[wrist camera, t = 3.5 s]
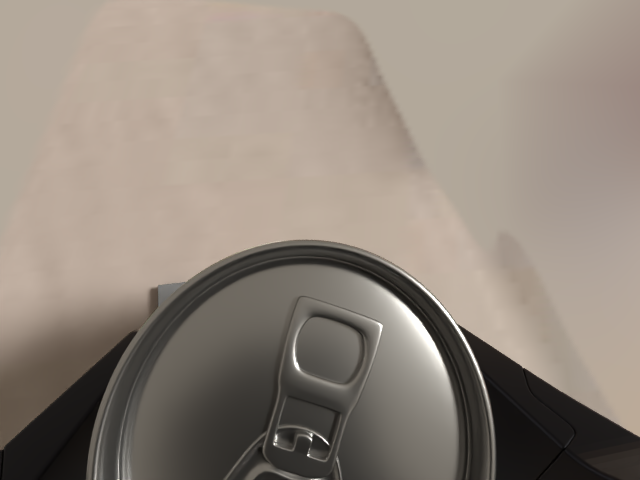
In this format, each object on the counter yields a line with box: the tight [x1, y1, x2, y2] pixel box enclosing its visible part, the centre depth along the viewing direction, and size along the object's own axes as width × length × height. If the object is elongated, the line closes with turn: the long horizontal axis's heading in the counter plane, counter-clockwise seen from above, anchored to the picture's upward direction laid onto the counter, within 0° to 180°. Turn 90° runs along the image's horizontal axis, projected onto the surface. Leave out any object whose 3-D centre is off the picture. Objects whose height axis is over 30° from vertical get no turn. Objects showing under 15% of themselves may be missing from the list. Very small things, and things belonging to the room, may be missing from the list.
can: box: [86, 240, 497, 480], centre depth 10 cm, size 6×6×12 cm
